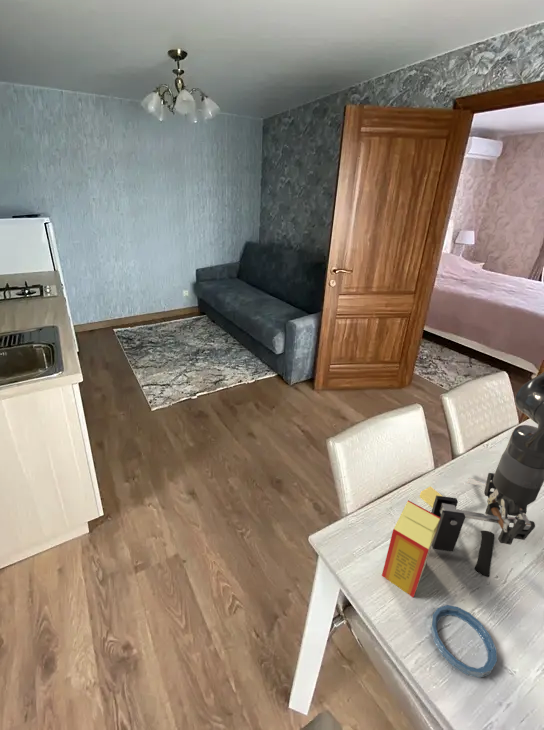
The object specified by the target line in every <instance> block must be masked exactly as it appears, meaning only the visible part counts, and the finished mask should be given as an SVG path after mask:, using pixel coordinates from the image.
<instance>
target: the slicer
mask: <svg viewBox="0 0 544 730" xmlns="http://www.w3.org/2000/svg"><path fill="white" fill-rule="evenodd" d="M458 502H459V500H458V498H457V497H451V496H444V495H442V496H436V498H435V502H434V505H433V508H432V507H431V511H430V512H431V513H433V514H435V515H437V516H438V517H440V522H439V525H438V528H437V531H436V534H435V537H434V540H433V544H432V547H431V549H433V550H437V551H444V552H449V553H454V550H455V548H456V545H457V542H458V539H459V536H460V533H461V532H462V531H461V530H462V528H463V526H464V523H465V520H466V518H465V515H464V513H459V512H452V511H445V510H442V513H440V511H439V509H440V506H441V504H442V503H446V504H452V505H455V507H456V508H457V506H458V504H459V503H458Z"/></svg>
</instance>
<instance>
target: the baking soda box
mask: <svg viewBox="0 0 544 730" xmlns="http://www.w3.org/2000/svg"><path fill="white" fill-rule="evenodd" d="M431 512H432V511H429V510H427V509H425V508H424V507H422V506H420V505H418V504H416V503H414V502H413V501H411V500H407V502H406V503H405V506H404V508H403V509H402V511H401V514H400V515H399V517H398V519H397V521H396V523H395V525H394V527H393V529H392V533H391V537H390V540H389V544H388V549H387V553H386V557H385V561H384V565H383V568H382V573H381V577H382V578H384V579H386V580H387V581H388V582H390V583H391V584H393V585H394V586H395V587H397V588H399V589H400V590H402V591H403V592H404V593H406V594H407V595H408V596H410V597H412V598H415V595H416V592H417V589H418V586H419V584H420V581H421V578H422V576H423V573H424V570H425V568H426V565H427V562H428V559H429V556H430V553H431V550H432V544H433V540H434V537H435V534H436V531H437V528H438V525H439V522H440V517H438V516H437V515H435V514H433V513H431Z"/></svg>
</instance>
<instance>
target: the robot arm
mask: <svg viewBox="0 0 544 730" xmlns="http://www.w3.org/2000/svg"><path fill="white" fill-rule="evenodd" d="M514 405H515V407H516V408H517V409H518V411H520V412H521V413H522V414H524V415H525V416H526V417H527V418H529V419H530V420H531V421H533V422H534V423H535V424H536V425H537V426H533V425H529V424H521V425H517V426H515V428H514V429H513V431H512V433H511V435H510V437H509V440H508V443H507V445H506V448H505V450H504V451H503V452H502V454H501V456H500V458H499V462H498V465H497V467H496V468H495V469H496V470H495V472H488V474H487V478H486V481H485V482H486V483H485V484H486V486H484V492H483V494H484V496H485V497H487V500H486V501H487V506H486V509H485V513H484V514H488V515H493V513H492V511H491V509H492V508H493V507H496V508H498V509H499V511H500V512H501V514H502V515H501V518H502V519H503V520H504V524H503V528H502V529H501V531H500V533H499V536H498V538H497V540H498V542H499V543H500V544H503V545H512V544H513V542H514V539H515V540H520V541H525V540H526V539H527V538H528V536H530V535H531V533H532V532H533V531H534V529H535V528H536V523H535V521H533V520H529V519H528V516H527V515H526V514H527V512H528V511H527V508H528V506H529V505H530V504H532V503H533V502H535V501H536V500H537V498H538V495H539V493H540V491H541V488H542V487H543V484H544V371H543V372H542V373H539V374H538V375H536V376H534V377H533V378H531V379H530V380H529V381H527V382H525V383H524V384H522V385H521V386H520V387H519V389H518V390H517V391H516V393H515V397H514ZM491 489H493V490H491ZM501 508H502V510H501ZM510 524H512V525H513V526H510Z"/></svg>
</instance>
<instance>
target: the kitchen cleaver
mask: <svg viewBox="0 0 544 730" xmlns="http://www.w3.org/2000/svg"><path fill="white" fill-rule="evenodd" d="M466 484H469V485H476V486H484V487H486V483H485V482H482V481H479V480H477V479H474V478H471V477H469V478H468V479H467V482H466ZM500 511H502V508H501V507H500ZM480 535H481V539H480V546H479V551H478V555H477V561H476V563H475V566H474V571H475V572H476V573H477V574H479V575H481V576H482V577H485V578H490V573H491V564H492V556H493V551H494V550H493V549H494V543H495V534H494V533H493V532H492V531H489V530H480Z"/></svg>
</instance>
